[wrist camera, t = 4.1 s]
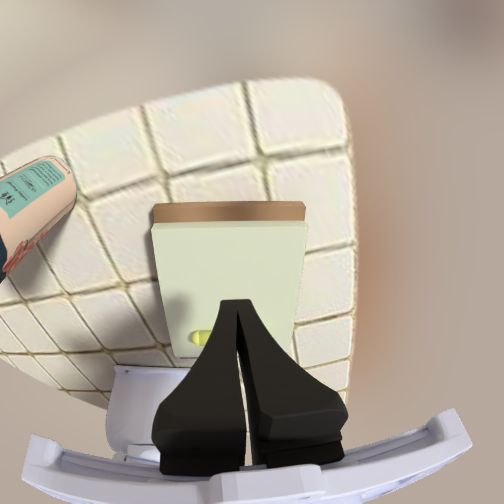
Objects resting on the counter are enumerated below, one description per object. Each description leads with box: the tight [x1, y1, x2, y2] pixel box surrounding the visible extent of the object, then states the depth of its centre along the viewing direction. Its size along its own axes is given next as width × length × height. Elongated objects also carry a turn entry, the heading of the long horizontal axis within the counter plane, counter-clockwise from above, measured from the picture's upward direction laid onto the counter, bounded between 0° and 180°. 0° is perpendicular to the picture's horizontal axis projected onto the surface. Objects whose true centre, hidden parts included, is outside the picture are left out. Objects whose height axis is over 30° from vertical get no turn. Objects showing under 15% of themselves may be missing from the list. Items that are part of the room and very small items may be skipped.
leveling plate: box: [151, 221, 308, 359], centre depth 21 cm, size 10×12×2 cm
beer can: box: [0, 156, 77, 283], centre depth 12 cm, size 5×5×12 cm
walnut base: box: [153, 201, 306, 223], centre depth 22 cm, size 10×14×1 cm
